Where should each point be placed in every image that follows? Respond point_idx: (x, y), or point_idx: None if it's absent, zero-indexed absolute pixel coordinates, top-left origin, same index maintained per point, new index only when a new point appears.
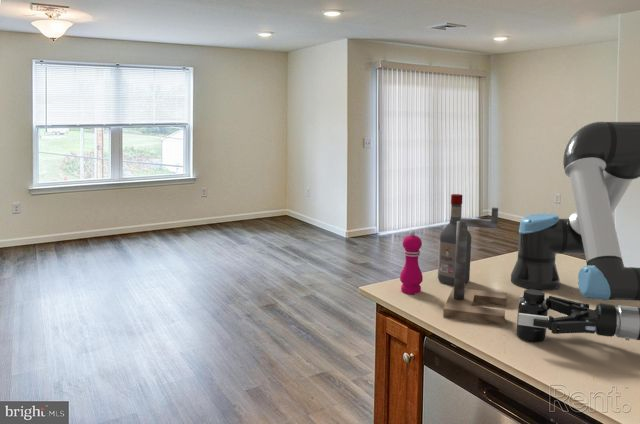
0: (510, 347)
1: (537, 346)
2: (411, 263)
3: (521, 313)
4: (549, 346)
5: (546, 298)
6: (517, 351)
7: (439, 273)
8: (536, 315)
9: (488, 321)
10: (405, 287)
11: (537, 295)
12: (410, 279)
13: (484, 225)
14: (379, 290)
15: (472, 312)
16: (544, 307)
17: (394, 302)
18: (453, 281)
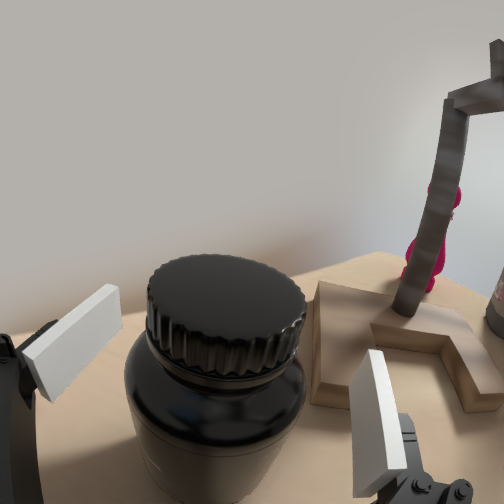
0: (122, 370)
1: (117, 448)
2: None
3: (109, 291)
4: (113, 489)
5: (417, 472)
6: (92, 375)
7: (491, 297)
8: (66, 324)
9: (313, 364)
10: (405, 267)
11: (151, 281)
12: (409, 252)
13: (480, 96)
14: (389, 259)
15: (320, 317)
16: (140, 392)
17: (351, 263)
18: (493, 319)
